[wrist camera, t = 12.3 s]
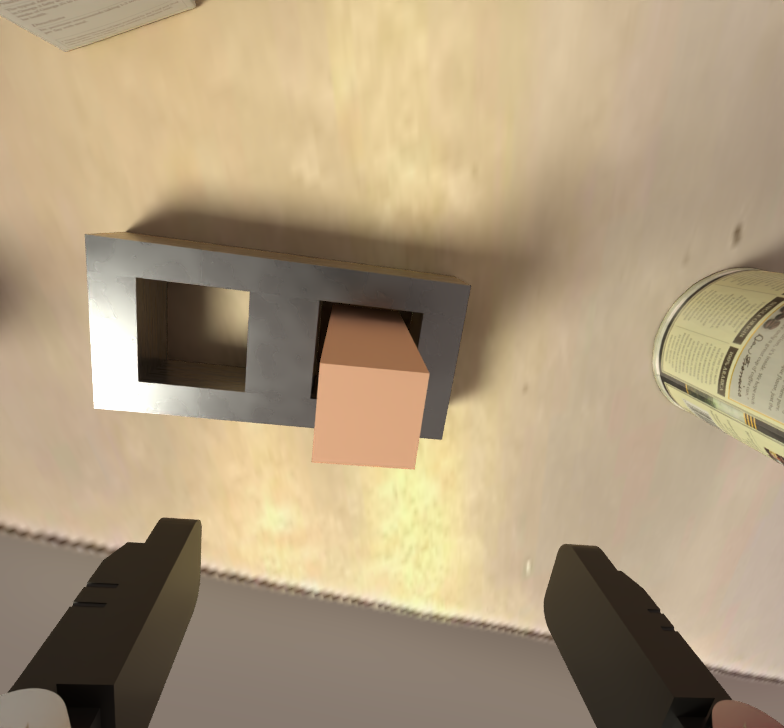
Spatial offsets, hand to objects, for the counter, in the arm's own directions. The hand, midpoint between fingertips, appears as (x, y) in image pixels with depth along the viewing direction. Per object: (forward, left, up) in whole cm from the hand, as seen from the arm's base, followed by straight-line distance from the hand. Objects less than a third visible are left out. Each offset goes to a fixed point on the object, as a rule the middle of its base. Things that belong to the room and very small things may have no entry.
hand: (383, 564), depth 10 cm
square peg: (0, 0, -19) cm, 19 cm away
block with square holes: (-4, 0, -19) cm, 20 cm away
